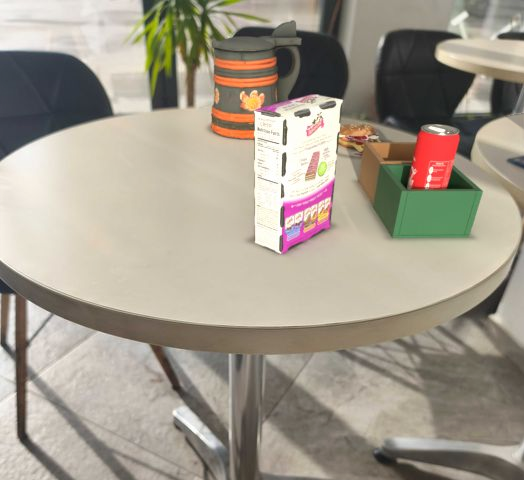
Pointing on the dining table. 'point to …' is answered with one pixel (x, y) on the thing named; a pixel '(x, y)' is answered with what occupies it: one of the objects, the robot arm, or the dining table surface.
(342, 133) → the hamburger
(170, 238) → the dining table surface
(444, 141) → the beverage can
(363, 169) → the paper bin
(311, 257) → the dining table surface
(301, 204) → the candy bar box
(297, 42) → the beer stein
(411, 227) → the bin
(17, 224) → the dining table surface
